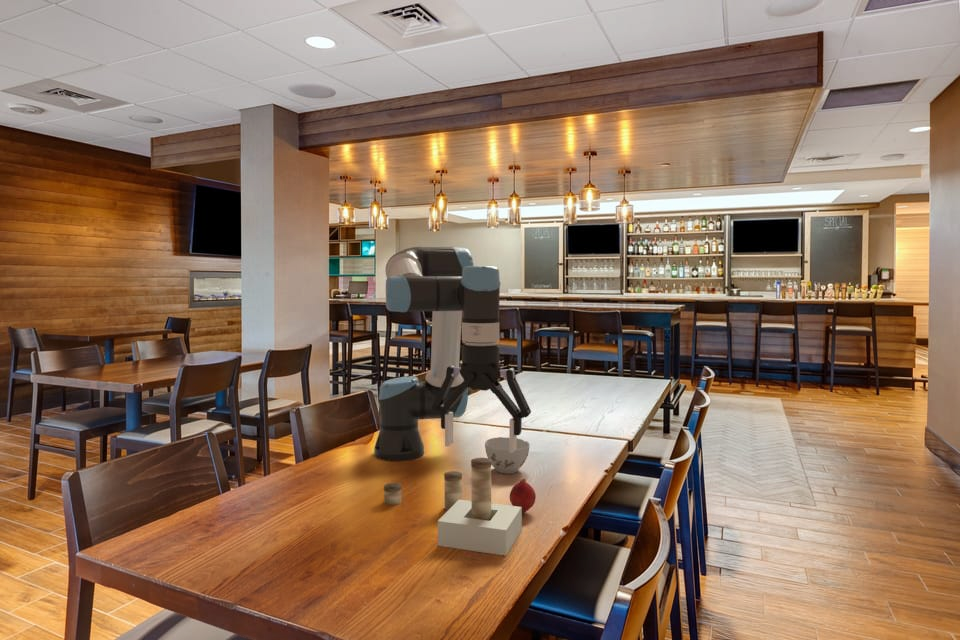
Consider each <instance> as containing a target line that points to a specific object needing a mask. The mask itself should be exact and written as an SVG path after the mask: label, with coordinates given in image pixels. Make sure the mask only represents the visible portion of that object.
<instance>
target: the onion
mask: <svg viewBox="0 0 960 640" xmlns="http://www.w3.org/2000/svg"><path fill="white" fill-rule="evenodd" d="M536 496H537V495H536V492H535V489H534V487H532V486H531V485H530V484H529V483H528V482H527V479H526V478H525V477H522V478H521V479H519V482H517V483H516V484H514V485H513V487H512V488H511V490H510V492H509V501H510V503H511V506H518V507H522V514H525V513H526V512H527V511H529V510H530V509H531V508H532V507H533V506H534V505H535V503H536Z"/></svg>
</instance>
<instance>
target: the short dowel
mask: <svg viewBox="0 0 960 640" xmlns="http://www.w3.org/2000/svg"><path fill="white" fill-rule="evenodd" d="M383 490H384V491H383V500H384V501H383V502H384V504H385V505H386V504H387V506H397V504H398V505H400V504H401V503H402V484H401V483H398V482H390V483H389V482H388V483H385V484H384V485H383Z"/></svg>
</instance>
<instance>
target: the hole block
mask: <svg viewBox="0 0 960 640" xmlns="http://www.w3.org/2000/svg"><path fill="white" fill-rule="evenodd" d="M522 515H523V513H522V507H518V506H512V505H510V504H509V505H508V504H507V505H506V504H500V503H492V502H491V520H490V521H487V520H480V519H472V500H467V499H462V500H460V499H459V500H458V501H457V502H456V503H455V504H454V505H453V506H452V507H451V508H450V509H449V510H448V511H447V510H446V512H445V513H444V514H443V515H442V516H441V517H440V518H439V519H438V520H437V546H439V547H445V548H449V549H451V548H452V549H458V550H465V551H472V552H479V553H485V554H491V555H497V556H503V555H504V556H506V557H507V555H508V554H509V552H510V551H511V549H512V547H513V545H514V544H515V542H516V540H517V539H518V537H519V535H520V534H521V532H522V527H523V526H522V521H523V520H522V519H523V518H522V517H523V516H522Z"/></svg>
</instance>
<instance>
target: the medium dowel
mask: <svg viewBox="0 0 960 640" xmlns="http://www.w3.org/2000/svg"><path fill="white" fill-rule="evenodd" d="M462 475H463V473H462V472H461V471H457V470H455V471H453V470H451V471H450V470H449V471H447V472H444V474H443V479H444V481H443V484H444V510H445V511H446V512H447V511H448V510H449V509H450V508H451V507H452V506H453V505H454V504H455V503H456V502H457V501H458V500H459V499H460V500H463V484H462V483H463V482H462V481H463V476H462Z"/></svg>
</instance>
